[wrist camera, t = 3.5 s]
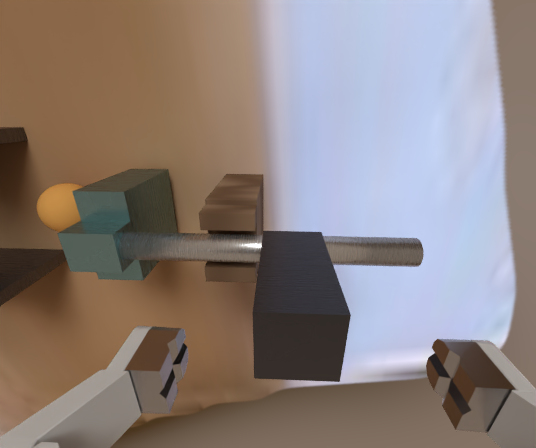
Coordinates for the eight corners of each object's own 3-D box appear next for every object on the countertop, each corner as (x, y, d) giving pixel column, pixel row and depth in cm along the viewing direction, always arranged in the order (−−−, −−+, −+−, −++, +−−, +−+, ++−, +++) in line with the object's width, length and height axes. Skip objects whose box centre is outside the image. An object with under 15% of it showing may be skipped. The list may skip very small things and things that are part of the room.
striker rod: (379, 171, 20) (559, 279, 7) (367, 241, 22) (485, 415, 10) (131, 168, 21) (-113, 261, 8) (144, 236, 23) (-25, 393, 10)
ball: (97, 229, 24) (64, 251, 20) (56, 202, 23) (13, 219, 19) (117, 198, 23) (86, 215, 19) (74, 168, 22) (33, 179, 18)
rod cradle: (263, 174, 21) (254, 208, 14) (263, 230, 23) (255, 286, 16) (226, 174, 21) (198, 207, 14) (229, 229, 23) (206, 285, 16)
